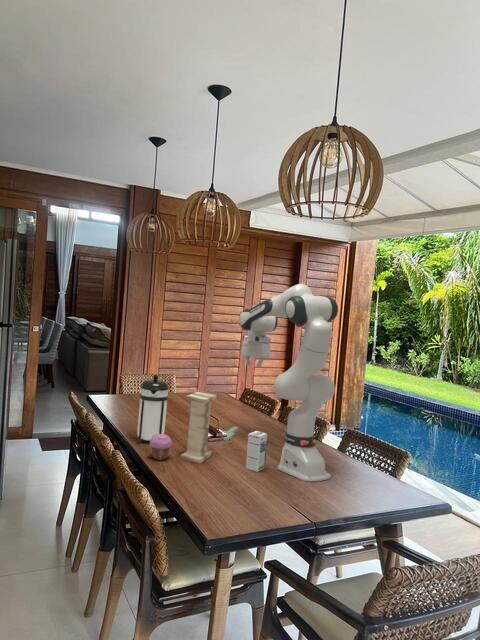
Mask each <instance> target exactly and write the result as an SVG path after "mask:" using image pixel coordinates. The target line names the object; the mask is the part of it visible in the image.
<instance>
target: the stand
mask: <svg viewBox="0 0 480 640" xmlns="http://www.w3.org/2000/svg"><path fill="white" fill-rule="evenodd" d="M218 395H219V394H216V393H211V392H205V391H199V390H198V391H196V392H193V393H191V394H187V395H185V396H184V397H185V401H189V402H191V403H190V414H189V422H188V423H189V424H188V437H187V445H186V451H185V452H184V453H181V454H180V455H179V460H182V461H186V462H190V463H197V464H202V463H203V462H204V461H205V460H207V459H209V457H211V456H213V450H208V441H209V430H210V421H211V420H210V418H211V409H212V401H214V400H216V399H218Z"/></svg>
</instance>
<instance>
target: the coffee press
mask: <svg viewBox="0 0 480 640" xmlns="http://www.w3.org/2000/svg"><path fill="white" fill-rule="evenodd" d="M152 378H153V379H146V380H143V381H142V383H141V384H140V385H139V387H140V394H139V398H140V399H139V408H138V420H137V432H136V435H137V439H136V441H135V442H136V443H137V444H141V443H142V442H143V441H149V442H150V440H151V438H152V436H153V435H156V434H165V428H166V417H167V416H166V415H167V405H168V400H169V394H168V393H169V389H170V386H169V384H168V382H166V381H164V380H162V379H159V376H158V374H154V375H153V376H152Z"/></svg>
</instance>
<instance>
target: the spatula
mask: <svg viewBox="0 0 480 640" xmlns="http://www.w3.org/2000/svg"><path fill="white" fill-rule="evenodd" d="M238 431H239V427H238V426H233V427H231V428H229V430H222V431H221V432H224V433H226V434H227V437H224V440H223V441H226V442H228V441H230V440H231V439H232V438H234V437H235V433H237V432H238ZM229 439H230V440H229Z"/></svg>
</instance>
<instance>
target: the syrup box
mask: <svg viewBox="0 0 480 640" xmlns="http://www.w3.org/2000/svg"><path fill="white" fill-rule="evenodd" d="M267 442H268V433H266V432H263V431H258V430H255V431H252V432H250V433H248V435H247V446H246V447H247V449H246V450H247V451H246V462H245V469H246V470H250V471H253V472H257V473H259V472H261V470H264V469H265V467H266V454H267V445H268V444H267Z"/></svg>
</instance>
